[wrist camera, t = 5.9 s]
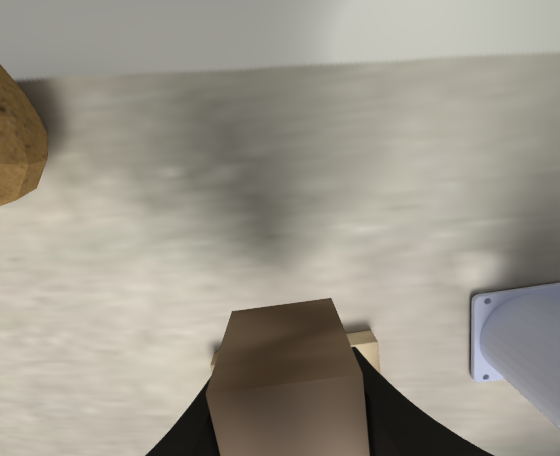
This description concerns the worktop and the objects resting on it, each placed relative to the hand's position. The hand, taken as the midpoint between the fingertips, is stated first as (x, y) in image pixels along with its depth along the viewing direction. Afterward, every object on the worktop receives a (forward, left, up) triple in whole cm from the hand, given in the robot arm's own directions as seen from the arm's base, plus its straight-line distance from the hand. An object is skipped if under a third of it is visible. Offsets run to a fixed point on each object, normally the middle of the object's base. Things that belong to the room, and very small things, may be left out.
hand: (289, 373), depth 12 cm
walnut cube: (0, 0, -2) cm, 2 cm away
